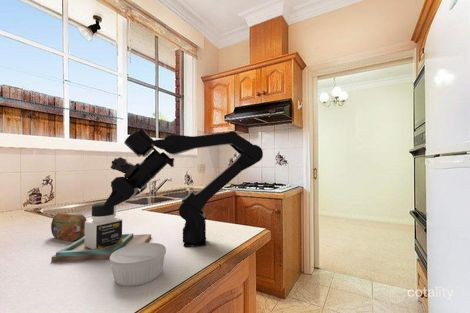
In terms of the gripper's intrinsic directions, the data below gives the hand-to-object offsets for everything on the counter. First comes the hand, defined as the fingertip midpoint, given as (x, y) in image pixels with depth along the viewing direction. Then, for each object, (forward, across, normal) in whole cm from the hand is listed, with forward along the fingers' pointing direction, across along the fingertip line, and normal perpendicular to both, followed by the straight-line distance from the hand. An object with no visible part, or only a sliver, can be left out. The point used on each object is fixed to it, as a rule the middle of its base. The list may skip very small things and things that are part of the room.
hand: (109, 206), depth 64 cm
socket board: (+9, -1, +8) cm, 12 cm away
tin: (+20, -13, -3) cm, 25 cm away
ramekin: (0, +18, +17) cm, 25 cm away
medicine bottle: (+9, 0, +7) cm, 11 cm away
